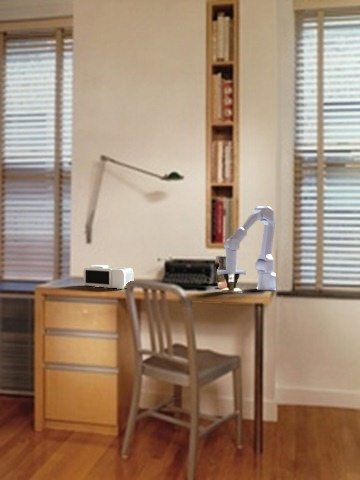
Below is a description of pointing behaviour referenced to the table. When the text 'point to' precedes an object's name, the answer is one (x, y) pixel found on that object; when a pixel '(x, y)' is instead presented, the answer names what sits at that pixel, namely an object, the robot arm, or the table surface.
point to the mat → (227, 292)
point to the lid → (231, 288)
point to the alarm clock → (108, 276)
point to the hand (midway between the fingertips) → (231, 288)
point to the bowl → (222, 285)
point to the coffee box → (222, 266)
